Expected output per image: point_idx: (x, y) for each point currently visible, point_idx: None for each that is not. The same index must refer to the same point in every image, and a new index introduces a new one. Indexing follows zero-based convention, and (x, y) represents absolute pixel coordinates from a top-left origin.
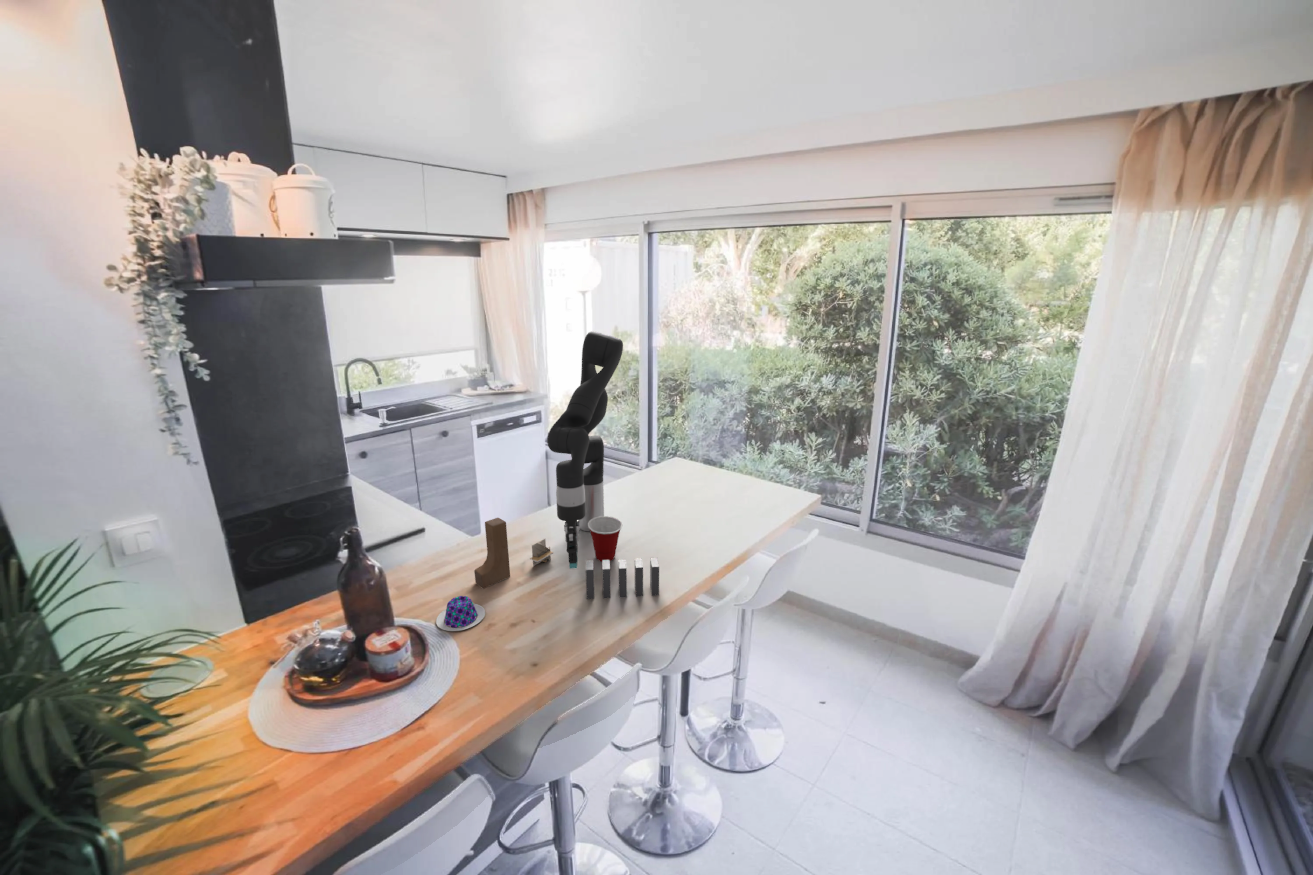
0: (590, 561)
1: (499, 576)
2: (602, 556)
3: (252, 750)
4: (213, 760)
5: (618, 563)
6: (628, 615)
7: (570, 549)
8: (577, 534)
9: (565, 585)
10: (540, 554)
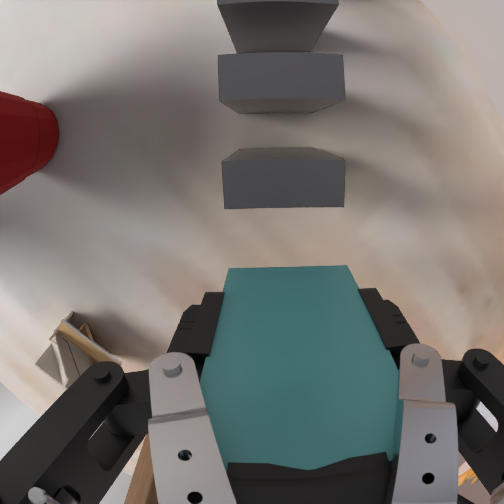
0: (235, 180)
1: None
2: (46, 142)
3: (471, 470)
4: (465, 478)
5: (228, 12)
6: (417, 42)
7: (477, 403)
8: (451, 476)
9: (213, 260)
10: (76, 350)
